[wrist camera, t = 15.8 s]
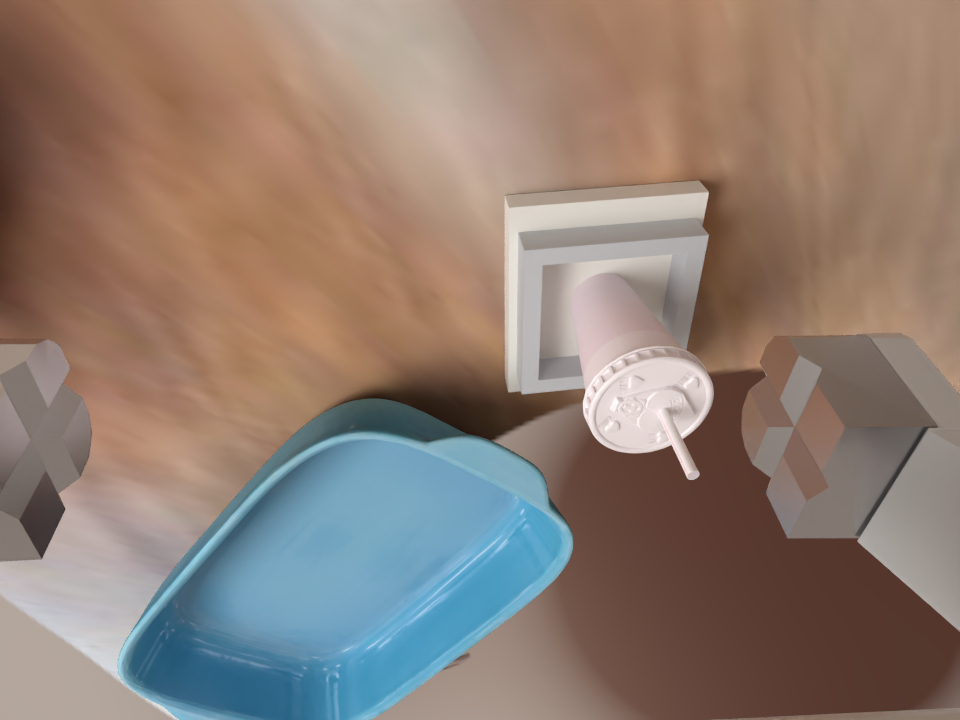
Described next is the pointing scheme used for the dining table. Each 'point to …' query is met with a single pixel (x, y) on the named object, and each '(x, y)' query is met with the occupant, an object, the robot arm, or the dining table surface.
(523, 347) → the collar plate
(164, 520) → the dining table surface
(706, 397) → the smoothie
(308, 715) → the casserole dish
